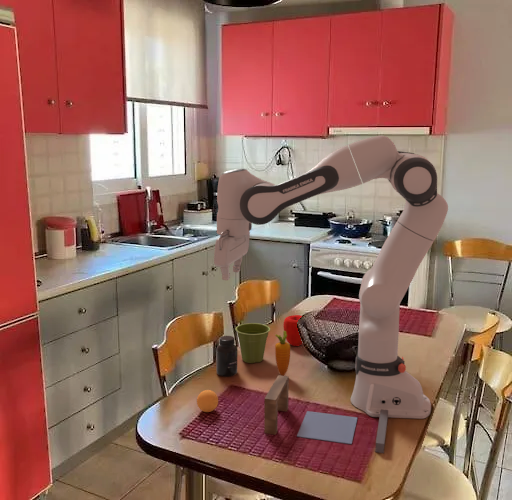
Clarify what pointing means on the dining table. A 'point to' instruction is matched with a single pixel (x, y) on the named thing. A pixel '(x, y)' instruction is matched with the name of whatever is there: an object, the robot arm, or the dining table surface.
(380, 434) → the stopper wall
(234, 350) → the supplement bottle
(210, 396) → the ball
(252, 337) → the plant pot
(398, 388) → the robot arm
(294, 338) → the apple
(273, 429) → the bridge
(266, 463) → the dining table surface
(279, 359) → the carrot
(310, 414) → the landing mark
